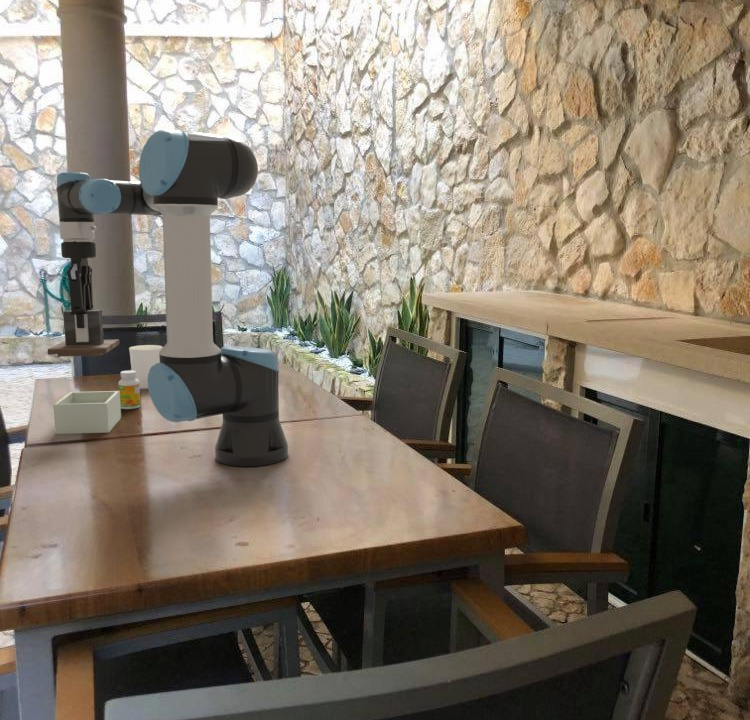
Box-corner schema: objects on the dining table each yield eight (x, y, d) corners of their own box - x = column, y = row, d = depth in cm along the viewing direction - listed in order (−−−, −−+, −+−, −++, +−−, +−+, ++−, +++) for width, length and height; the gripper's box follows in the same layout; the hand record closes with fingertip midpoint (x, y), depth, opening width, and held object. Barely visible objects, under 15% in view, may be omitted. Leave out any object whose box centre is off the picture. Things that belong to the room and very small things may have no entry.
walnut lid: (106, 356, 172) (103, 313, 171) (48, 357, 171) (44, 314, 169) (119, 347, 187) (117, 307, 185) (66, 348, 185) (63, 308, 183)
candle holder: (131, 383, 232) (129, 345, 230) (163, 382, 235) (162, 344, 233) (130, 390, 223) (128, 350, 220) (165, 388, 225) (163, 349, 223)
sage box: (108, 432, 176) (107, 403, 175) (55, 434, 174) (53, 404, 173) (121, 417, 189) (119, 390, 188) (71, 419, 188) (69, 392, 187)
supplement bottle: (115, 408, 199) (113, 373, 198) (126, 404, 204) (124, 369, 203) (133, 410, 198) (131, 374, 196) (144, 405, 203) (142, 370, 202)
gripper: (86, 241, 167) (92, 345, 171) (102, 240, 183) (108, 336, 187) (51, 241, 166) (58, 345, 170) (70, 240, 182) (77, 336, 186)
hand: (84, 340), depth 178 cm, fingers closed on walnut lid, 3 cm apart
